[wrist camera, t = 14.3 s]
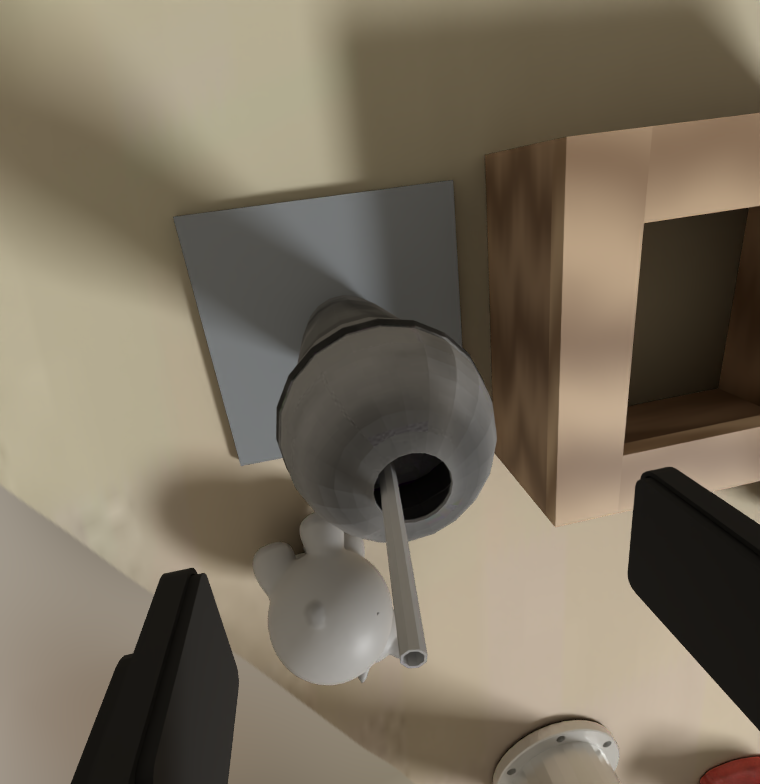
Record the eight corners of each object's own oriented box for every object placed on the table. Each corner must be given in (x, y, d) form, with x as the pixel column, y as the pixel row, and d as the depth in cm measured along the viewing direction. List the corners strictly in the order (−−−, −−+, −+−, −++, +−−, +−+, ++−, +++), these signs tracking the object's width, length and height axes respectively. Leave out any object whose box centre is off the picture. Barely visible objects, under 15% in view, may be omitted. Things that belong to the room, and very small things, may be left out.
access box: (733, 403, 34) (855, 459, 27) (494, 452, 32) (555, 527, 25) (787, 116, 27) (970, 86, 20) (484, 154, 25) (566, 136, 18)
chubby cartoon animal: (324, 600, 38) (357, 721, 32) (230, 549, 29) (252, 702, 23) (403, 555, 37) (451, 669, 31) (332, 489, 29) (380, 630, 23)
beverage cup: (427, 365, 28) (685, 670, 10) (313, 415, 28) (364, 817, 10) (382, 246, 25) (633, 370, 7) (255, 302, 25) (173, 575, 7)
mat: (463, 418, 31) (466, 422, 30) (241, 460, 29) (240, 466, 28) (449, 180, 25) (453, 180, 25) (175, 216, 24) (173, 217, 23)
